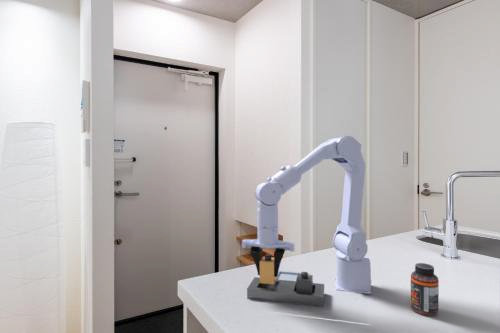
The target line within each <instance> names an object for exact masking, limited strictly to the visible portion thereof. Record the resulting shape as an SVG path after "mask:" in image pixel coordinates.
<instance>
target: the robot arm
mask: <svg viewBox="0 0 500 333" xmlns="http://www.w3.org/2000/svg"><path fill="white" fill-rule="evenodd" d="M361 150H362V144H361V143H360V142H359V141H358V140H357V139H356V138H355V137H354V136H351V135H344V136H340V137H332V138H329V139H327V140H326V141H325V142H321V144H318V146H317V147H316V148H314V149H313V150H312V151H310V152H309V153H308V154H307V155H306V156H305V157H303V158H302V159H301V160H300V161H299V162H297V163H296V164H295V165H290V164H289V165H286V166H285V165H282V166H281V167H280V168H279V171H278V172H277V173H275V174H274V175H272V177H270V176H268V177H267V178H266V181H267V182H261V183H259V184H258V185H257V187H256V189H255V192H254V196H255V198H256V199H257V210H256V216H257V220H256V221H257V222H256V223H257V227H256V228H257V238H255V239H245V238H244V239H243V240H242V241H241V248H242V249H246V248H249V249H250V250H249V253H250V256H251V257H252V260H253V262H254V264H255V269H256V271H257V275H258V276H260V260H261V259H262V257H263V250H265V249H266V250H275V251H274V252H273V258H274V263H275V268H274V276H275V277H277V276H278V271H279V270H280V266H281V262H282V261H283V260H282V259H283V257H284V255H285V252H286V251H290V252H295V242H291V241H290V242H289V241H284V240H279V209H278V205H279V204H278V203H279V202H280V200H281V198H282V196H283V195H285V194H286V193H287V192H288V191H290V190H291V189H292V188H294V187H295V186H297V185H298V184H299V183H300V182H301V180H302V175H303V174H305V173H307V172H309V171H310V170H311V169H313V168H314V167H315V166H317V165H319V164H320V163H321V162H323V161H324V160H332V161H335V162H336V163H338V164H339V165H340V166H341V168H343V169H344V171H345V172H344V182H343V183H344V184H343V193H342V194H343V196H342V204H341V205H342V206H341V207H342V208H341V219H340V220H341V221H340V223H339V224H338V225H337V226H336V230H335V233H334V235H333V238H332V246H333V248H334V249H335V250H336V278H335V280H334V281H335V282H334V283H335V285H334V286H335V287H334V288H335V290H336V291H341V292H351V293H361V294H365V295H371V294H372V291H371V290H372V286H371V285H372V278H371V277H372V276H371V274H372V272H371V271H372V269H371V260H370V258H369V257H366V255H367V253H368V244H367V240H366V233H365V230H364V229H363V228H362V226H361V224H362V222H361V221H362V211H363V199H364V198H363V197H364V185H365V173H366V162H365V159H364V156H363V154H362V151H361Z"/></svg>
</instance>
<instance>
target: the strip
mask: <svg viewBox="0 0 500 333" xmlns="http://www.w3.org/2000/svg"><path fill="white" fill-rule="evenodd" d="M246 297H247V298H246V299H249V300H259V301H266V302H267V301H268V302H275V303H284V304H291V305H298V306H299V305H301V306H310V307H318V308H324V305H325V283H319V282H318V283H317V282H313V294H312V293H303V292H296V281H288V280H276V282H275V284H264V283H260V277H257V276H254V277H253V279H252V281H251V282H250V283H249V285H248V287H246Z"/></svg>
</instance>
